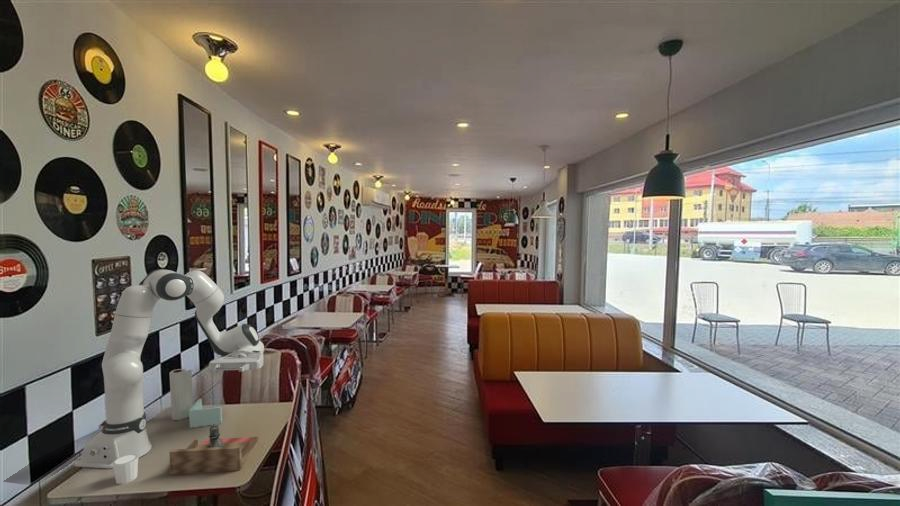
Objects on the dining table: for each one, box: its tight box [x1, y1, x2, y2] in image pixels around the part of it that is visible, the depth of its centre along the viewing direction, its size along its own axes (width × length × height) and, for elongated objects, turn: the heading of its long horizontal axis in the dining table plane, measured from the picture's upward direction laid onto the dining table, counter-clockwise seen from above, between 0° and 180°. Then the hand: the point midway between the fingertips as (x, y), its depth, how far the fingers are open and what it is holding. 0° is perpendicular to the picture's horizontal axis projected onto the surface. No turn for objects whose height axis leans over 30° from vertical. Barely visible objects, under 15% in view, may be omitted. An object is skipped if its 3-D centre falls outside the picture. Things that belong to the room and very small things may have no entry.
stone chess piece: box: [206, 424, 224, 448], centre depth 148 cm, size 6×6×12 cm
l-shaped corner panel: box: [188, 398, 223, 429], centre depth 178 cm, size 12×12×8 cm
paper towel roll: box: [168, 368, 194, 421], centre depth 179 cm, size 7×6×21 cm
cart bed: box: [169, 436, 259, 475], centre depth 150 cm, size 23×21×8 cm
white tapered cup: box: [112, 454, 139, 485], centre depth 137 cm, size 7×7×7 cm
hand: (228, 370), depth 162 cm, fingers open, 8 cm apart
